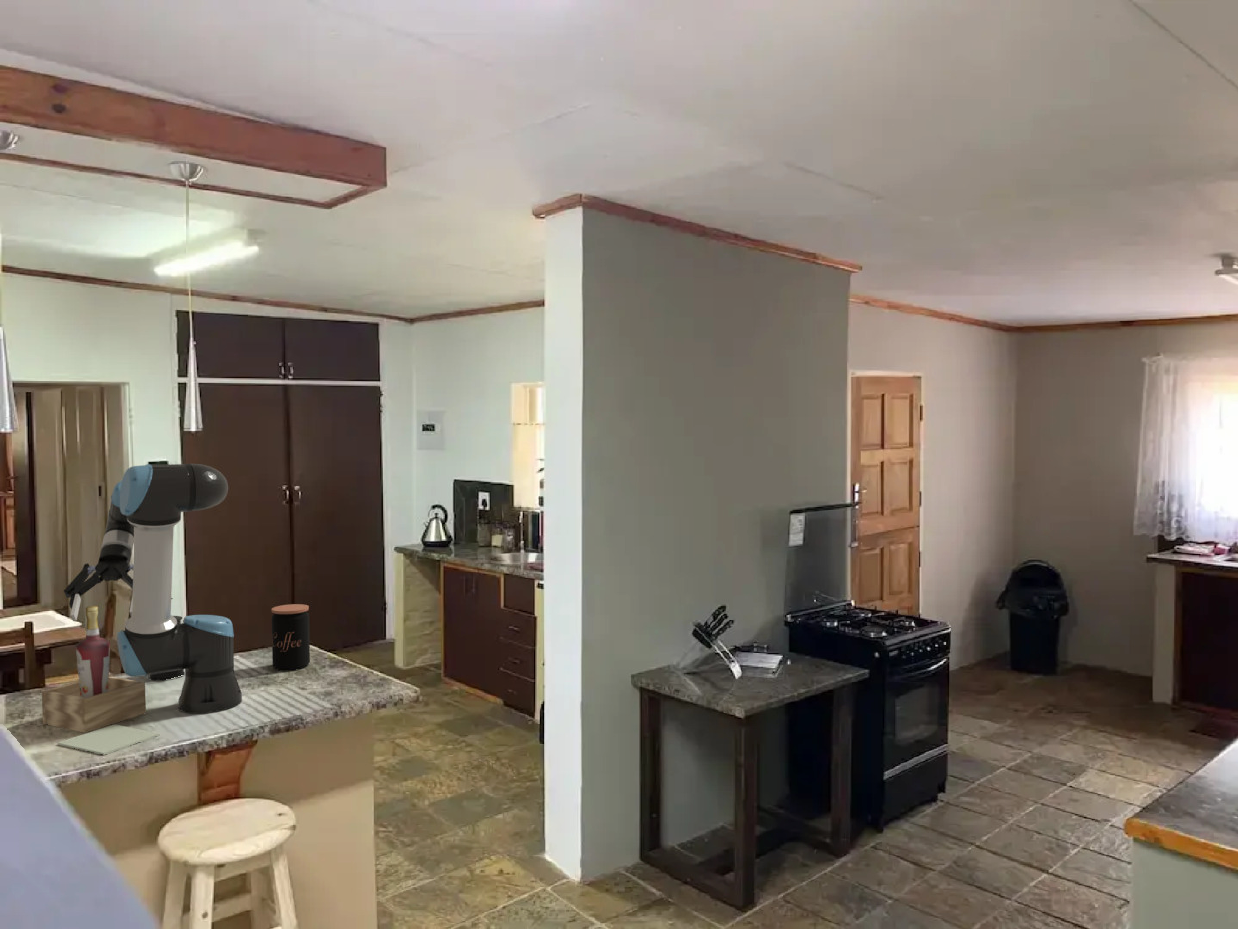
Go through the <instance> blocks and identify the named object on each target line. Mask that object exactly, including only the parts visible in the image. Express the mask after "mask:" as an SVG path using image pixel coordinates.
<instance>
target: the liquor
mask: <svg viewBox="0 0 1238 929" xmlns="http://www.w3.org/2000/svg"><path fill="white" fill-rule="evenodd" d="M98 616H99V606H97V605H92V606H91V605H90V606H86V607H85V617H86V628H85V629H86V630H85V638H84V639H82V640H80V641H79V642H78V643H77V644H75V651H76V652H75V654H76V665H77V666H76V667H77V674H78V682H79V687H80V697H83V698H87V697H91V696H94V695H98V694H101V693H105V692H108V691H109V676H110V661H111V660H110V648H111V646H110V645H111V642H110V640H108V639H106V638H105V637H101V635H100V629H99V620H98Z"/></svg>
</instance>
